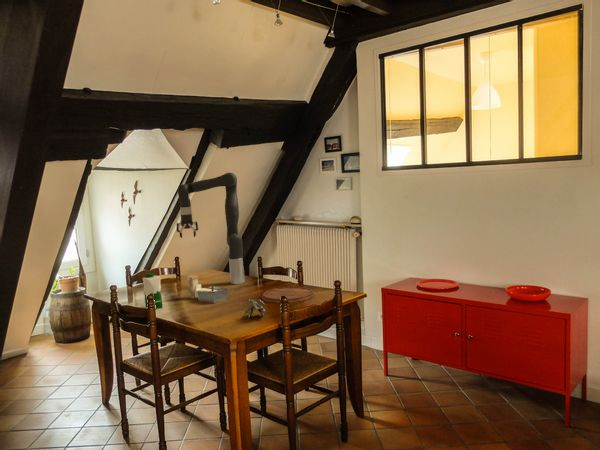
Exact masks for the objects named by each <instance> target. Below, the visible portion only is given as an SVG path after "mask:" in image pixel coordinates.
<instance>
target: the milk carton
mask: <svg viewBox="0 0 600 450" xmlns="http://www.w3.org/2000/svg"><path fill="white" fill-rule="evenodd" d="M161 279H162V278H161V276H157V275H154V273H153V272H148V273H147V272H146V273H145V277H142V282H143V292H144V303H145V308H146V307H147V296H148V295H149V294H153V295H154V300H155V305H156V309H155V310H158V309H163V308H162V307H163V298H162V288H161V285H162V284H161ZM157 308H158V309H157Z"/></svg>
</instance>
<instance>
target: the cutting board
mask: <svg viewBox="0 0 600 450" xmlns="http://www.w3.org/2000/svg"><path fill="white" fill-rule="evenodd" d="M281 296H285V297H286V298H287V300H288V302H289V303H288V304H297V303H301V302H306V301H309V300H311V299H313V298H314V297H316V293H315V291H313V289H311V288H309V287H304V286H285V287H275V288H272V289H268V290H266V291H264V292H263V294H262V295H261V299H260V300H261V301H263V302H266V303H271V304H279V302H280V297H281Z"/></svg>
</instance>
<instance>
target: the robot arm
mask: <svg viewBox="0 0 600 450" xmlns="http://www.w3.org/2000/svg"><path fill="white" fill-rule="evenodd" d="M237 186H238V178H237V175H236V174H235V173H233V172H226V173H224V174H222V175H219V176H216V177H213V178H207V179H202V180H197V181H193V182H191V183H190V182H189V183H185V184H180V185H179V186H178V187H177V195H178V199H179V206H180V207H179V210H180V211H179V212H180V222H176V232H177V233H179V237H180V239H183V230H184V229H185V230H186V229H192V230H193V238H196V236H197V233H196V232H197V231H199V225H198V221H193V212H192V211H193V210H192V203H191V199H190V196H189V195H190V194H193V193H200V192H203V191H207V190H210V189H214V188H219V187H224V188H225V199H224V200H225V201H224V213H225V223H226V244H227V245H228V246H229V247H228V249H229V254H228V263H229V275H230V276H229V279H230V284H232V285H241V284H245V282H246V281H245V280H246V279H245V269H244V260H243V254H244V246H243V243H244V242H243V239H242V237H241V236H240V235H239V230H238V225H239V218H240V210H239V201H238V200H239V199H238V191H237ZM193 225H195V228H194V227H193ZM180 226H181V228H180ZM179 228H180V229H179Z"/></svg>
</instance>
